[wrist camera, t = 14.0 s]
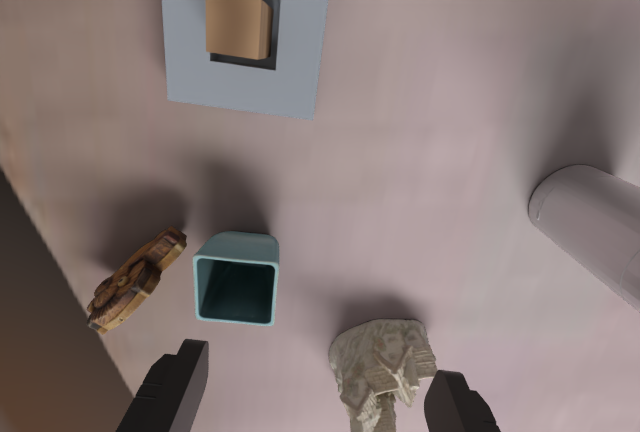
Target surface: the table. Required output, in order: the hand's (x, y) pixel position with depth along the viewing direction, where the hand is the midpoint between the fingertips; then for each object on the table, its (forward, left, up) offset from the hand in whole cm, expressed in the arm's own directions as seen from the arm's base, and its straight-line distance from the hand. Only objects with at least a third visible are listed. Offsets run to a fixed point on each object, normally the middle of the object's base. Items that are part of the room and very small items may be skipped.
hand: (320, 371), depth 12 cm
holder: (+8, -11, -29) cm, 32 cm away
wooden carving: (+20, +17, -30) cm, 40 cm away
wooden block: (+8, -11, -29) cm, 32 cm away
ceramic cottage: (-14, +32, -30) cm, 46 cm away
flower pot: (+7, +14, -30) cm, 34 cm away
